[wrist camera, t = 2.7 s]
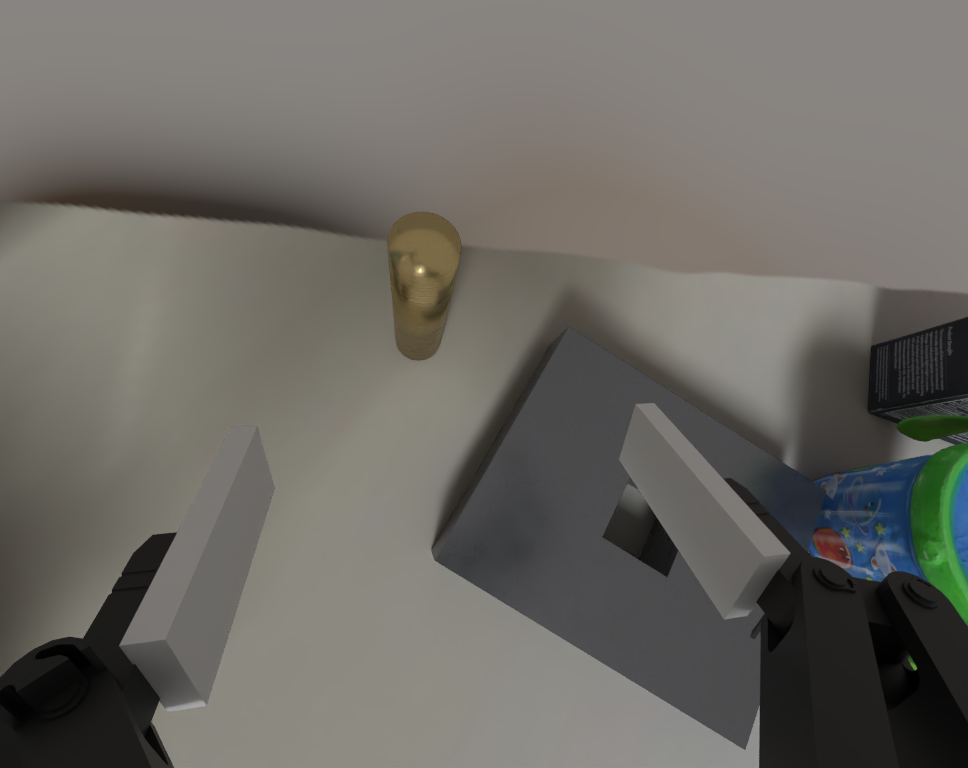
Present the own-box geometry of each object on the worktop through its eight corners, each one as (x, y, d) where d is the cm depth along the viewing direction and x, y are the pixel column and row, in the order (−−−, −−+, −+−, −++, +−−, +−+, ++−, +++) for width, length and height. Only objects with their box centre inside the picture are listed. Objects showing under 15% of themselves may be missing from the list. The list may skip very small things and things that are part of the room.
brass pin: (386, 344, 28) (372, 251, 17) (411, 310, 29) (413, 198, 18) (424, 368, 29) (436, 291, 17) (448, 333, 29) (474, 237, 18)
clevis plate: (431, 550, 26) (434, 560, 23) (551, 343, 31) (568, 326, 27) (702, 716, 27) (745, 750, 23) (781, 489, 31) (826, 490, 28)
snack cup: (812, 399, 33) (979, 364, 24) (921, 474, 34) (1131, 470, 24) (739, 584, 29) (907, 635, 19) (864, 668, 29) (1094, 762, 19)
